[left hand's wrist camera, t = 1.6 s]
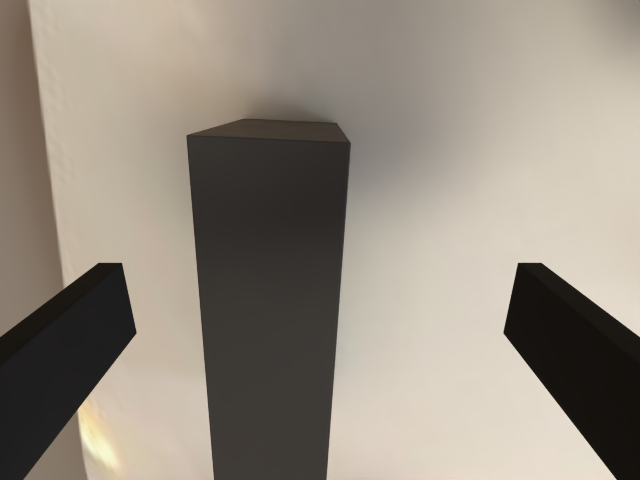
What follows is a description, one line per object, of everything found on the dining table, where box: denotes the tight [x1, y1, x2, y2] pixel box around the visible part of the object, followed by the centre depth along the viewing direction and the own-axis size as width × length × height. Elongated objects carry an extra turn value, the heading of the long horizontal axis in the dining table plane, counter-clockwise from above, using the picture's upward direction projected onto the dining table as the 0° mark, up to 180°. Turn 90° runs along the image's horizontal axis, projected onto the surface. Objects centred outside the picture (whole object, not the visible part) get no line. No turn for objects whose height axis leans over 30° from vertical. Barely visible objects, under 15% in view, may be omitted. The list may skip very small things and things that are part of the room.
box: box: [187, 119, 351, 480], centre depth 24 cm, size 23×6×12 cm, turn 177°
